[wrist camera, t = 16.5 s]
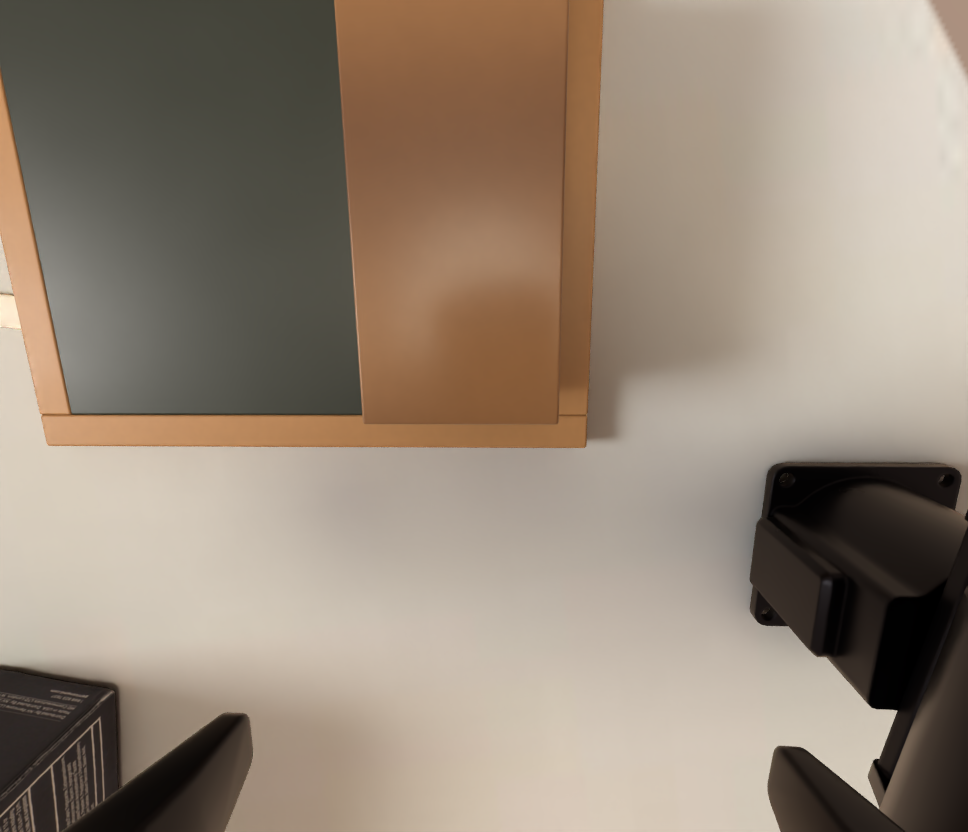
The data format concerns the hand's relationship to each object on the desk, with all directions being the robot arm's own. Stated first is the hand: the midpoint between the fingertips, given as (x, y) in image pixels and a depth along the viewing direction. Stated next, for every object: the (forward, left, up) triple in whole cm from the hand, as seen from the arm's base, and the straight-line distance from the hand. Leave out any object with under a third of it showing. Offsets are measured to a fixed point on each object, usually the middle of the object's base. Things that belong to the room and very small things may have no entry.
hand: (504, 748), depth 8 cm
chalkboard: (+7, -10, -11) cm, 17 cm away
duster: (+1, -10, -10) cm, 14 cm away
